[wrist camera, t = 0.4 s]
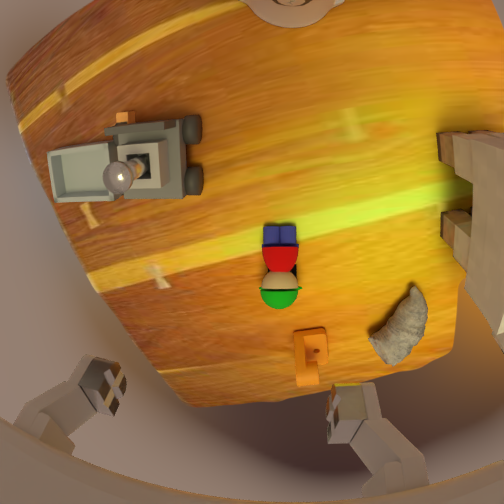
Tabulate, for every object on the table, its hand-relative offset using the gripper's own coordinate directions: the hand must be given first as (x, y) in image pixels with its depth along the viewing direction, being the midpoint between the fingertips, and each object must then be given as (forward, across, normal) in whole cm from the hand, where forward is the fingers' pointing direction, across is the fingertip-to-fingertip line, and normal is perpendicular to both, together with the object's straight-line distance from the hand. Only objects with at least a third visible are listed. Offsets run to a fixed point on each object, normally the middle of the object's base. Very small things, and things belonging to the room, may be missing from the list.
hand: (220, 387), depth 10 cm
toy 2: (+45, -41, +5) cm, 61 cm away
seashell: (+45, -30, +34) cm, 64 cm away
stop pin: (+39, +19, -1) cm, 43 cm away
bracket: (+45, -11, +42) cm, 63 cm away
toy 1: (+45, -3, +19) cm, 49 cm away
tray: (+45, +36, +1) cm, 58 cm away
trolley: (+45, +19, -1) cm, 49 cm away
